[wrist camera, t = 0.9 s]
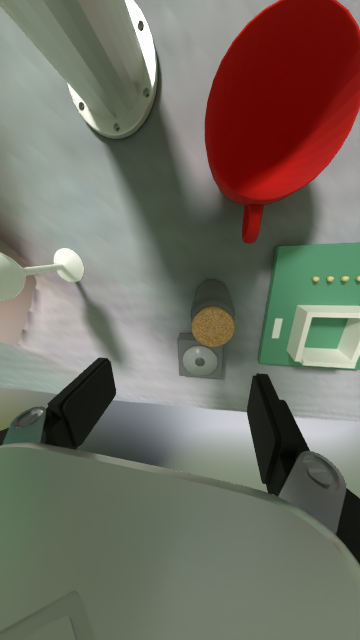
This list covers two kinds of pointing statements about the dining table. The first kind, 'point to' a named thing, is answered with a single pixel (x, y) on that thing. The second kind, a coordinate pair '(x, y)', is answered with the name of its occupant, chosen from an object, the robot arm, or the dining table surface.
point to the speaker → (198, 358)
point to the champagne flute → (37, 271)
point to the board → (313, 307)
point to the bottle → (212, 314)
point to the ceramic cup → (282, 103)
